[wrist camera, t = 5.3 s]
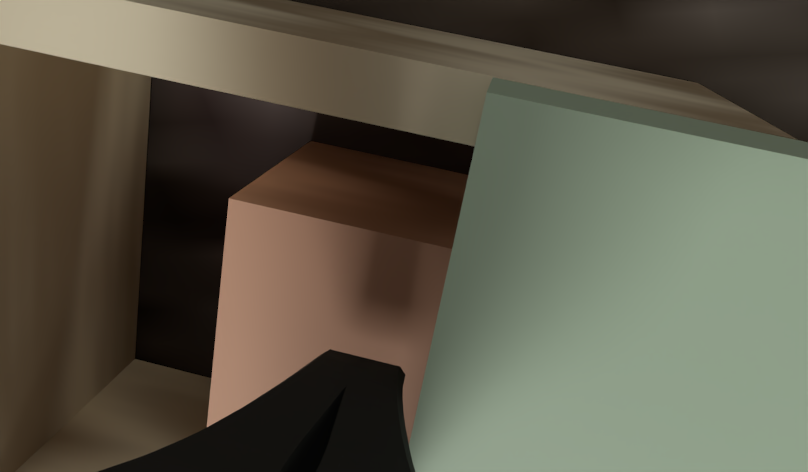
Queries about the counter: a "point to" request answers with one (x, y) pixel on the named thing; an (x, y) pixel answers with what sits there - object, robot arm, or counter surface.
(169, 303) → the counter surface
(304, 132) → the counter surface
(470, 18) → the counter surface
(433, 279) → the block
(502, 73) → the cubby
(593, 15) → the counter surface
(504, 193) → the lid
